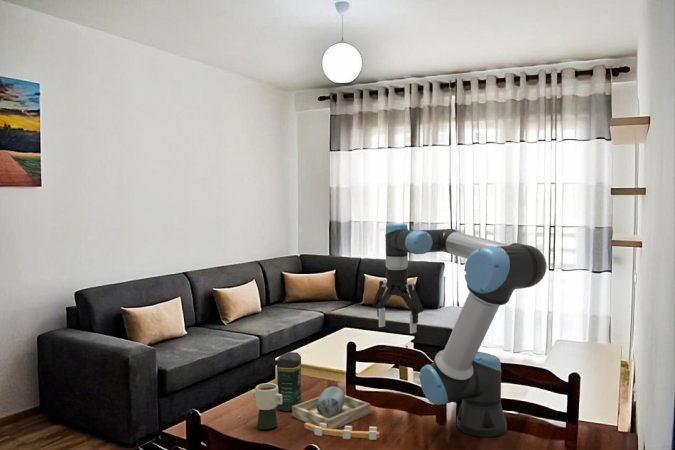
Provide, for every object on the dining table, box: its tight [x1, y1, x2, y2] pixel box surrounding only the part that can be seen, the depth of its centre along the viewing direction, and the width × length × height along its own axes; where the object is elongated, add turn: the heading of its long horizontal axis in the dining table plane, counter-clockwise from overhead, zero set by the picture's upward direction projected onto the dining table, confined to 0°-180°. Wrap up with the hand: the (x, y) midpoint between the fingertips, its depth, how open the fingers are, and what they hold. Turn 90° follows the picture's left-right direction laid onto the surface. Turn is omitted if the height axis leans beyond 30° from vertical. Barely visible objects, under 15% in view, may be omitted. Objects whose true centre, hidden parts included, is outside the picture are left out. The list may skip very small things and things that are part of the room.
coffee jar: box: [276, 351, 303, 412], centre depth 186 cm, size 10×8×19 cm
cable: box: [303, 422, 380, 439], centre depth 164 cm, size 24×4×1 cm, turn 71°
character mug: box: [251, 382, 283, 430], centre depth 169 cm, size 11×7×13 cm, turn 68°
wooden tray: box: [291, 394, 371, 430], centre depth 178 cm, size 17×19×4 cm
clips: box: [313, 423, 378, 441], centre depth 163 cm, size 19×5×2 cm, turn 78°
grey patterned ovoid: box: [316, 385, 346, 418], centre depth 178 cm, size 14×10×10 cm
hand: (397, 329), depth 185 cm, fingers open, 13 cm apart
